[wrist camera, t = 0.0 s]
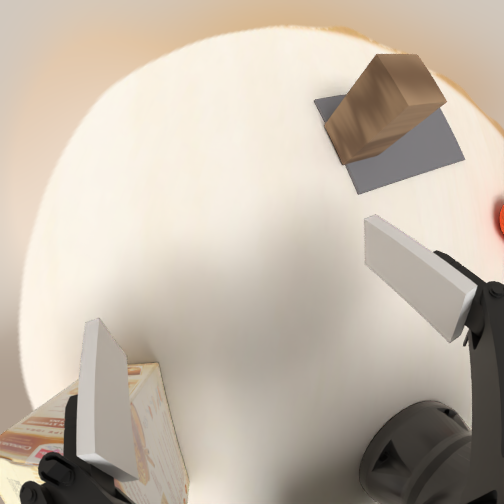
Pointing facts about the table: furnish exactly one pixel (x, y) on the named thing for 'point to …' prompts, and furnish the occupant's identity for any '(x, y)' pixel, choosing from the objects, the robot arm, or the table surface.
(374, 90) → the block
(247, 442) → the table surface
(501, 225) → the clementine
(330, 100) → the mat
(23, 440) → the coffeecake box
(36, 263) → the table surface
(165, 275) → the table surface
